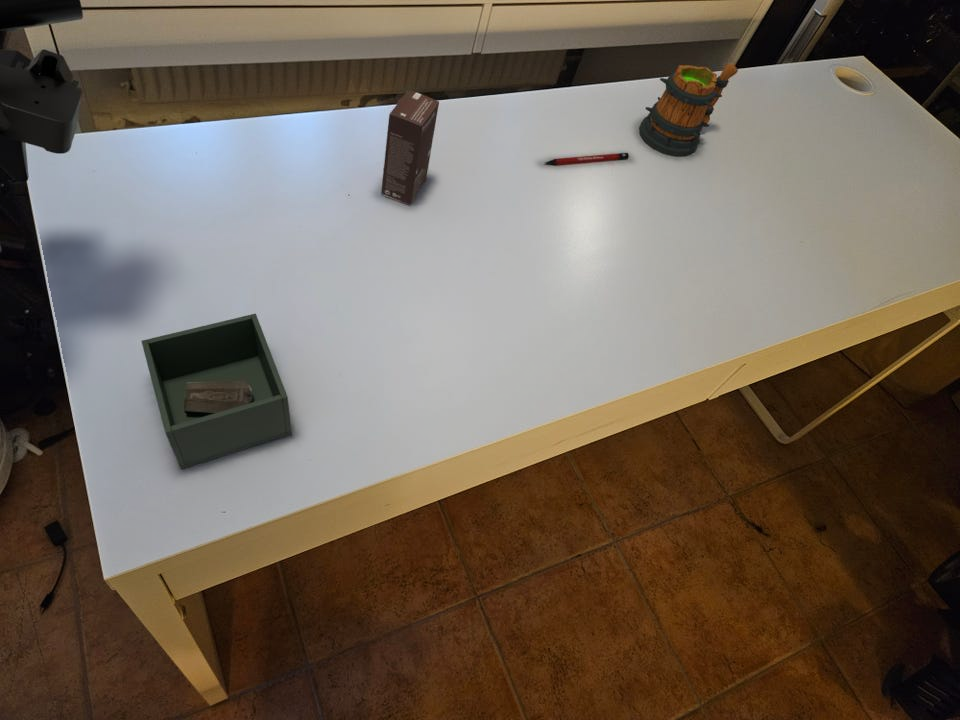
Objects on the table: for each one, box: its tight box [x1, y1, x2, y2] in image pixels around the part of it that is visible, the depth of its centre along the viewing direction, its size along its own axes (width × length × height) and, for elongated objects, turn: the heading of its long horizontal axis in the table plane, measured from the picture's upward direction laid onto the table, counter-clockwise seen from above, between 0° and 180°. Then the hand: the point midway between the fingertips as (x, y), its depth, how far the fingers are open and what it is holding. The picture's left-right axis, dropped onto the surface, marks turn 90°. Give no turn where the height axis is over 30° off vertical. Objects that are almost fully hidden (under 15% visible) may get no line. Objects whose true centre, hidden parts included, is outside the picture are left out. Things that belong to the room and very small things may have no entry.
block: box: [184, 381, 254, 415], centre depth 62 cm, size 4×6×2 cm, turn 99°
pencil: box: [544, 152, 630, 166], centre depth 96 cm, size 1×14×1 cm, turn 110°
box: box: [380, 89, 440, 206], centre depth 81 cm, size 6×4×12 cm
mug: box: [638, 62, 739, 158], centre depth 100 cm, size 13×10×12 cm
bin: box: [140, 313, 293, 470], centre depth 60 cm, size 10×10×7 cm
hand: (8, 214), depth 57 cm, fingers open, 9 cm apart
